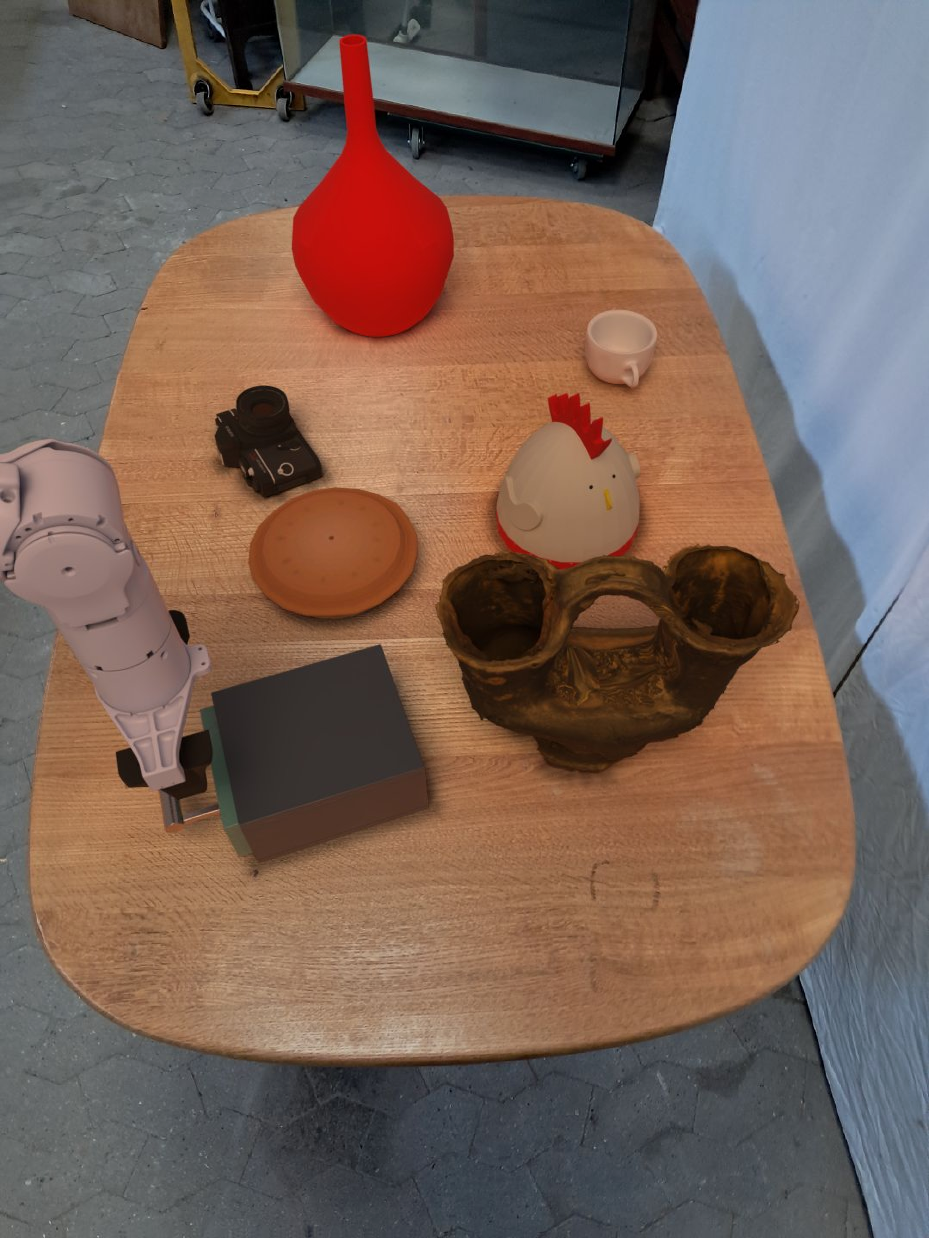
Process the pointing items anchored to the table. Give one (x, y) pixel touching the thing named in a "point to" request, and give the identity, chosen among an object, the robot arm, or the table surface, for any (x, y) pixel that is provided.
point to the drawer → (223, 791)
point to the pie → (333, 552)
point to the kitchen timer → (570, 490)
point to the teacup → (620, 346)
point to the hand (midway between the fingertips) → (182, 743)
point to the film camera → (265, 442)
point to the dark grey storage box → (319, 753)
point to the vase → (371, 225)
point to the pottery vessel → (608, 645)
